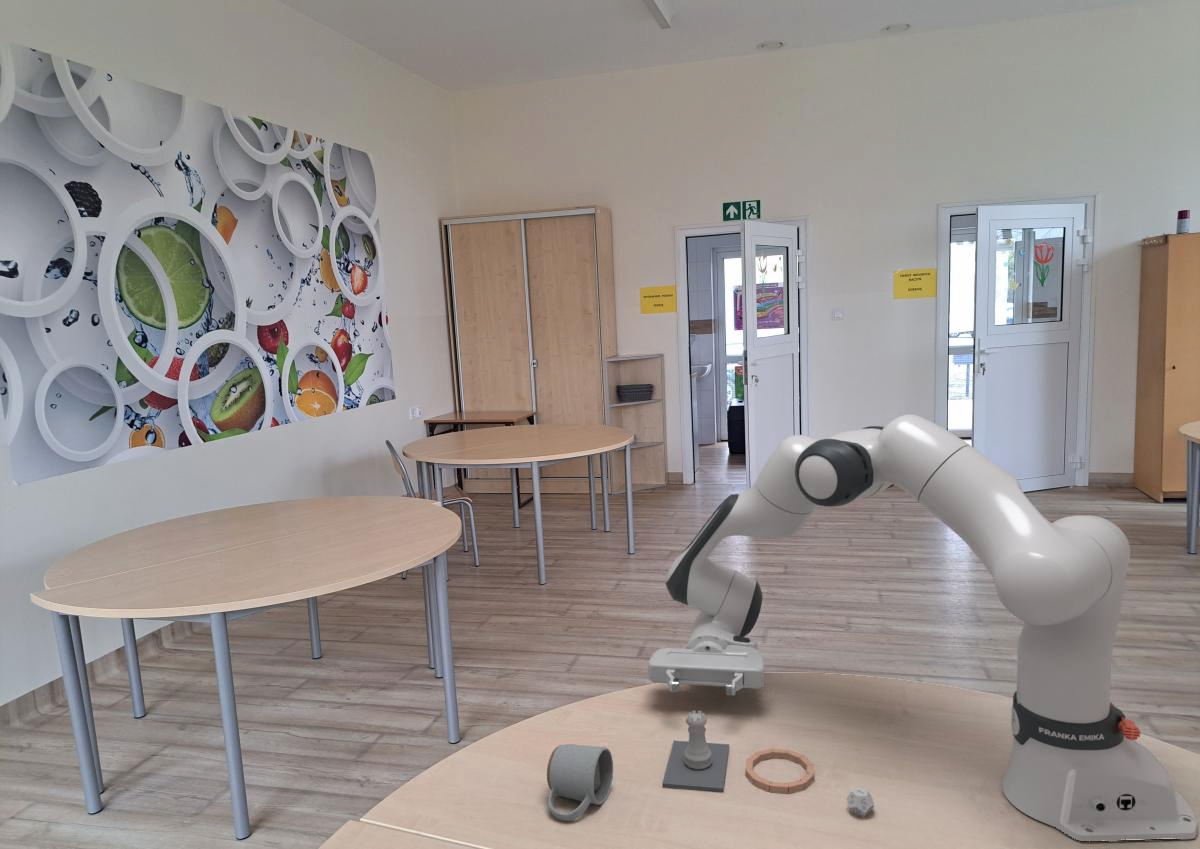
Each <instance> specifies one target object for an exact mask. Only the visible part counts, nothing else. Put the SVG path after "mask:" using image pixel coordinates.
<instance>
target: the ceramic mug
mask: <svg viewBox="0 0 1200 849" xmlns="http://www.w3.org/2000/svg"><path fill="white" fill-rule="evenodd" d="M613 780H614V761H613V755H612V752H611V751H610V749H609V748H608V747H606V746H596V745H594V746H593V745H583V744H572V743H567V744H566V743H565V744H559V745H558V746H556V747H555V748H554V749H553V751H552V752H551V754H550V757H549V759H548V763H547V768H546V781H547V785H548V788H549V789H550V792H549V795H548V800H547V801H548V807H549V810H550V812H551V814H552V815H553V817H554V818H556V819H557V820H559V821H562V822H572V821H575V820H577V819H579V818H580V817H582V816H583V815H584V813H585V812H586V810H587V809H588V807H589V806H590V804H592V805H602V804H603V803H605V801H606V800H607V799H608V797H609V795H610V792H611V789H612V788H611V787H612V785H613ZM557 796H559V797H562V798H566V799H571V800H575V801H580V802H581V803H580V804H579V805H578V807H576V808H575V809H574V810H572V811H569V812H567V813H562V812H560V811H559V810H557V809H556V808H555V807H554V805H555V804H554V803H555V799H556V797H557Z"/></svg>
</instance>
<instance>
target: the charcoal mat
mask: <svg viewBox="0 0 1200 849" xmlns="http://www.w3.org/2000/svg"><path fill="white" fill-rule="evenodd" d="M688 743H689V740H687V741H685V740H673V743H672V744H671V750H670V754H669V756H668V757H669V758H668V761H667V763H666V768H665V772H664V777H663V778H662V779H663V780H662V783H661V784H662V788H669V789H679V790H680V789H681V790H691V791H704V792H715V793H716V792H717V793H724V789H725V783H726V776H727V768H728V760H729V752H730V744H727V743H714V742H706V744H707V745H708V747H709V749H710V751H711V753H712V759H713V760H712V763H711V765H710V766H709V767H708V768H706V769H702V770H694V769H691V768H689V767H688V766H687V765H686V764H685V762H684V757H685V756H684V753H685V750H686V748H687V746H688Z"/></svg>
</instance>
